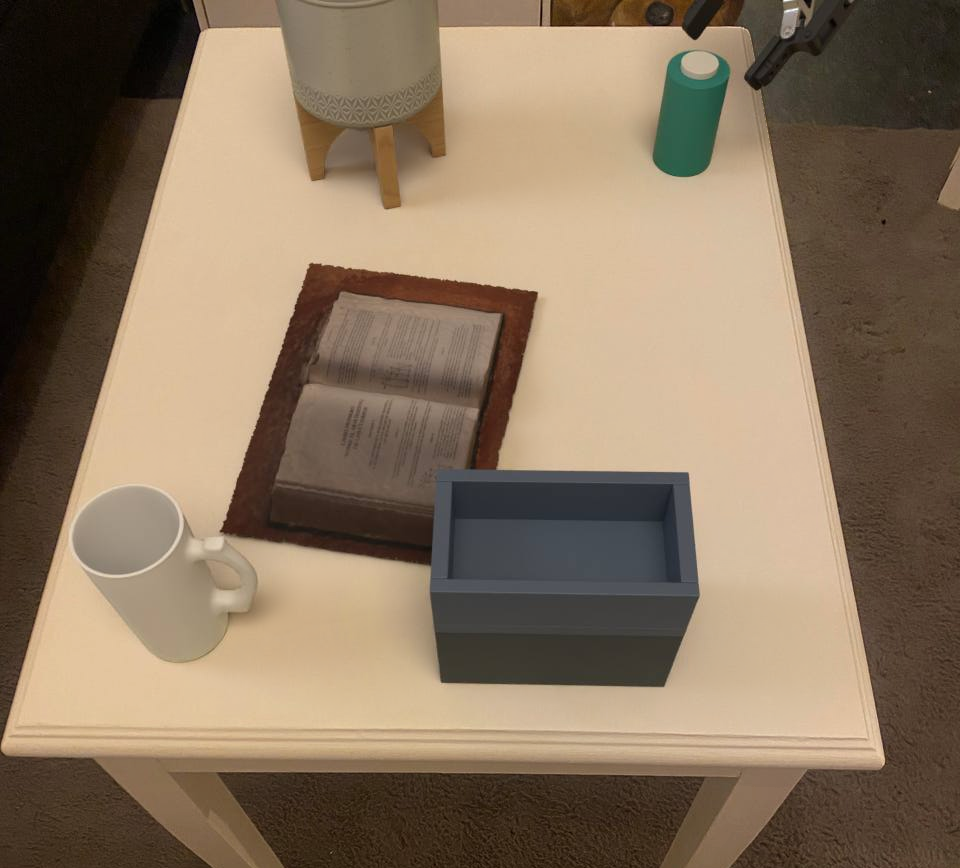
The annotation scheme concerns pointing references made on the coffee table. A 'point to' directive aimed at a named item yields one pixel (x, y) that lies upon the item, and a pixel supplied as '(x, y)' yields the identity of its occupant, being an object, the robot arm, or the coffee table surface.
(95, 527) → the mug
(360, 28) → the planter
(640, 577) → the open storage box
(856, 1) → the robot arm
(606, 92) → the coffee table surface
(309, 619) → the coffee table surface
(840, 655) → the coffee table surface
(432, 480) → the book
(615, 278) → the coffee table surface
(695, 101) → the plastic bottle
